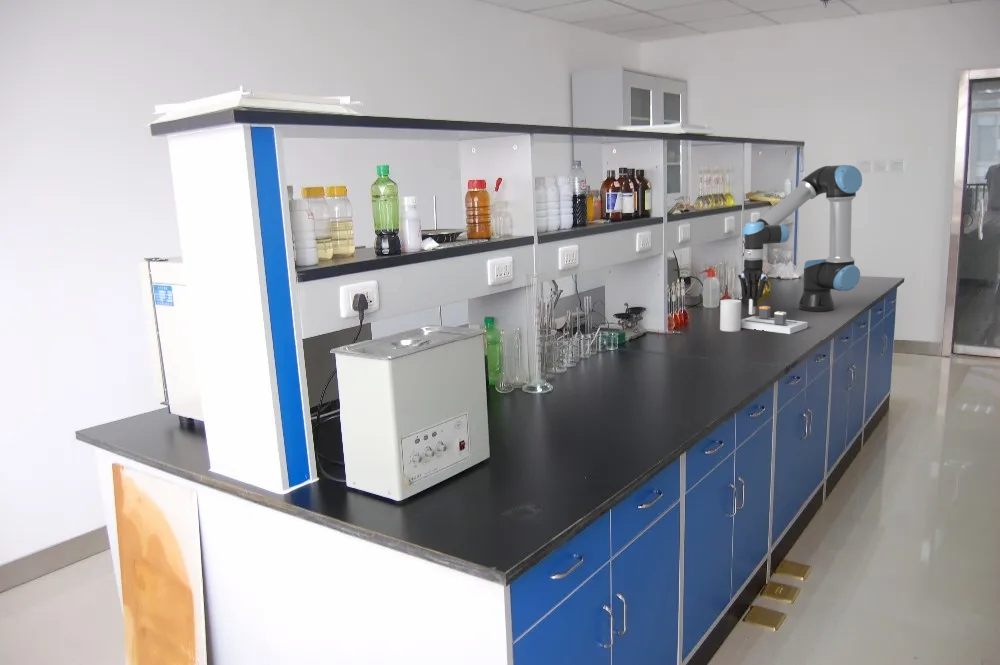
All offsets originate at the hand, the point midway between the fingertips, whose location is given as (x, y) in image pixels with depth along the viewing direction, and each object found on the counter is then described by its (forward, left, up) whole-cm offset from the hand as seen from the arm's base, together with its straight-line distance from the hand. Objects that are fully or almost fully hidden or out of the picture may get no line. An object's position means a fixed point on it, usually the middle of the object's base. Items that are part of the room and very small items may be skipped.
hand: (752, 313), depth 314 cm
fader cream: (+8, +17, -1) cm, 19 cm away
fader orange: (0, +6, -1) cm, 6 cm away
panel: (+4, +11, -4) cm, 12 cm away
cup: (+17, 0, -4) cm, 18 cm away
